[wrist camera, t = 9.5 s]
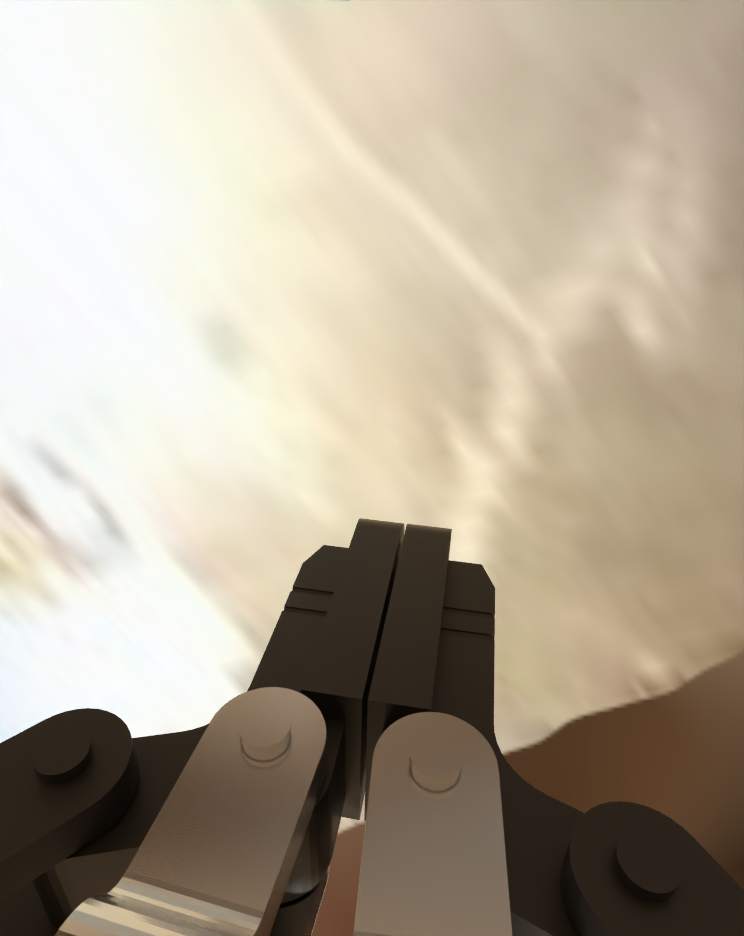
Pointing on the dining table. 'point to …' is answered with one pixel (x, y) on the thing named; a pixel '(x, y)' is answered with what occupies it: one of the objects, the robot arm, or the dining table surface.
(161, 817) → the robot arm
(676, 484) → the dining table surface
